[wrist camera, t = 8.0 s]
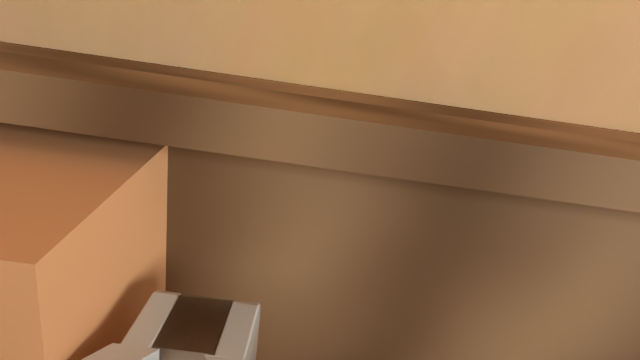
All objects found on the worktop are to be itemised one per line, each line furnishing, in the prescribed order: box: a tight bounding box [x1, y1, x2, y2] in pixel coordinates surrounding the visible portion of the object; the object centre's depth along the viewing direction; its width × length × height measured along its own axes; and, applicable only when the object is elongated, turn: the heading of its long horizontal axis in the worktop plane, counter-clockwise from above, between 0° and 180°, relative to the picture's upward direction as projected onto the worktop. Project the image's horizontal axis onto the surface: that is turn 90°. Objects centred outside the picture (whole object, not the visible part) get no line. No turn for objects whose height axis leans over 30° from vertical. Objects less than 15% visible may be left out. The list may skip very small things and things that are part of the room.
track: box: [0, 42, 640, 360], centre depth 12 cm, size 26×9×2 cm, turn 82°
